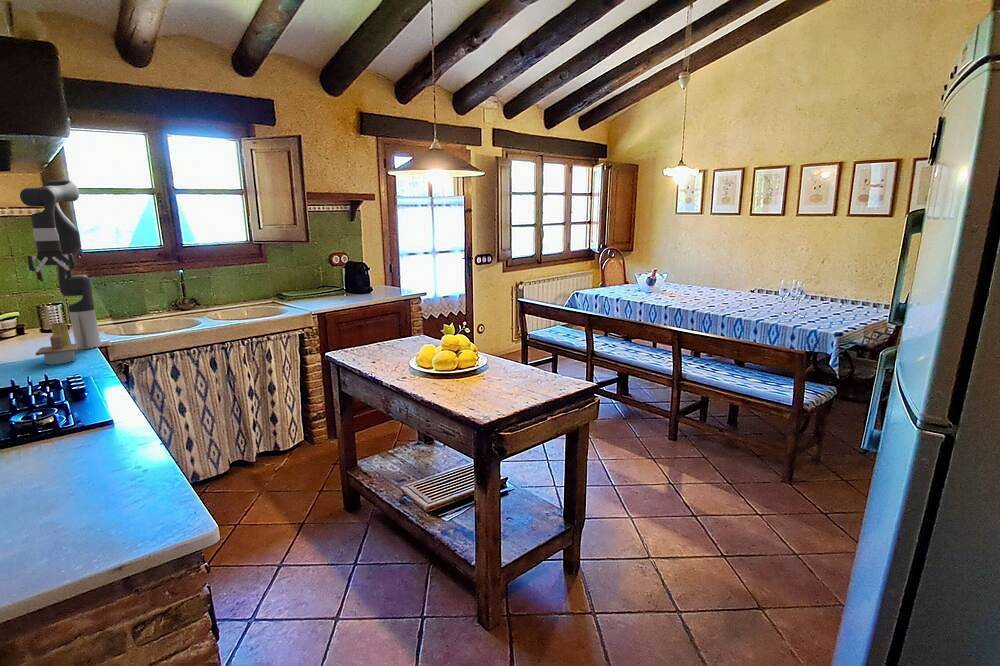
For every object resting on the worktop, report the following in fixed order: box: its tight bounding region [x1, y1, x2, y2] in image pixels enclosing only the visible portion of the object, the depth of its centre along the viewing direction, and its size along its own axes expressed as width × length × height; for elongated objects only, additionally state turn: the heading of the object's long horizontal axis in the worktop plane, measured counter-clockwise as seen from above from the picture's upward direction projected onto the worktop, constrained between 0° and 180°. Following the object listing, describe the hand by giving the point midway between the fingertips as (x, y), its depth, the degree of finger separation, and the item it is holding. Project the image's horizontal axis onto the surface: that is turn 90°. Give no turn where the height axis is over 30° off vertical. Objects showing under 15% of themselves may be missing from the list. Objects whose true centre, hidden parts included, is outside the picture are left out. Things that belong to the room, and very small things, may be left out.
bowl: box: [43, 351, 76, 365], centre depth 213 cm, size 9×9×5 cm
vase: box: [50, 322, 72, 345], centre depth 222 cm, size 6×6×14 cm
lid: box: [35, 334, 80, 356], centre depth 212 cm, size 12×12×6 cm
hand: (55, 280), depth 211 cm, fingers open, 8 cm apart
